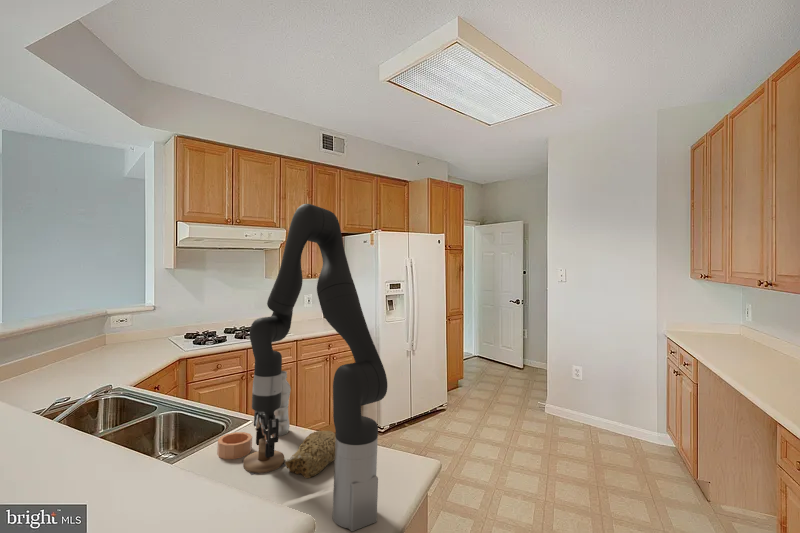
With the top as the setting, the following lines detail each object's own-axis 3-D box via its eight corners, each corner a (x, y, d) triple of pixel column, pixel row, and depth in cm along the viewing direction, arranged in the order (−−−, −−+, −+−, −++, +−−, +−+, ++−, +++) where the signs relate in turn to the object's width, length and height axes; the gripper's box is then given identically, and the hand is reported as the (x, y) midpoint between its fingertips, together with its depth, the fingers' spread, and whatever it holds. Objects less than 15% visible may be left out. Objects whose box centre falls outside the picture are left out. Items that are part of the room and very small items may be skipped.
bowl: (254, 456, 111) (255, 440, 111) (221, 464, 105) (221, 447, 106) (246, 445, 118) (247, 430, 118) (214, 452, 113) (215, 436, 113)
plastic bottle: (273, 440, 121) (276, 376, 122) (264, 433, 126) (267, 371, 127) (293, 435, 126) (295, 372, 126) (283, 428, 131) (285, 368, 131)
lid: (289, 466, 104) (290, 442, 104) (249, 477, 98) (250, 452, 98) (276, 451, 113) (277, 429, 113) (238, 460, 107) (239, 437, 107)
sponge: (317, 489, 98) (357, 442, 116) (309, 460, 97) (351, 418, 115) (277, 485, 103) (321, 441, 121) (270, 457, 103) (315, 417, 121)
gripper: (289, 395, 102) (287, 457, 102) (272, 381, 114) (270, 437, 114) (260, 400, 98) (257, 465, 98) (246, 385, 110) (243, 443, 110)
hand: (264, 450), depth 106 cm, fingers open, 8 cm apart
